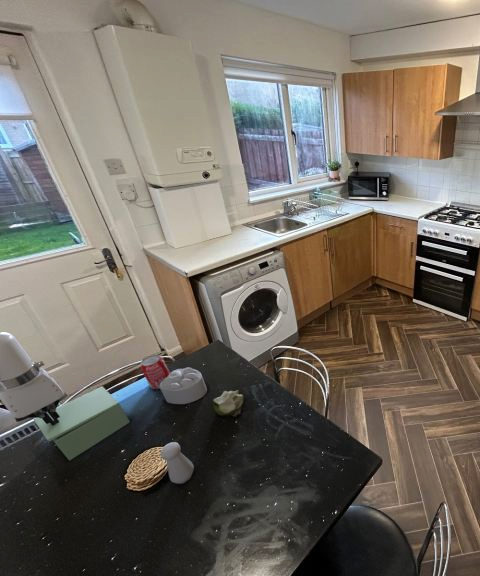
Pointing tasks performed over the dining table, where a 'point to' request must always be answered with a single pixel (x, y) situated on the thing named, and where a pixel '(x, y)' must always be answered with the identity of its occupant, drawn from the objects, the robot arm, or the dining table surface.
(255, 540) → the dining table surface
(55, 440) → the chest
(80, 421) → the lid
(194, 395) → the lumpy-topped squat cylinder
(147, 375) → the soda can
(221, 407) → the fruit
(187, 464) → the salt shaker
